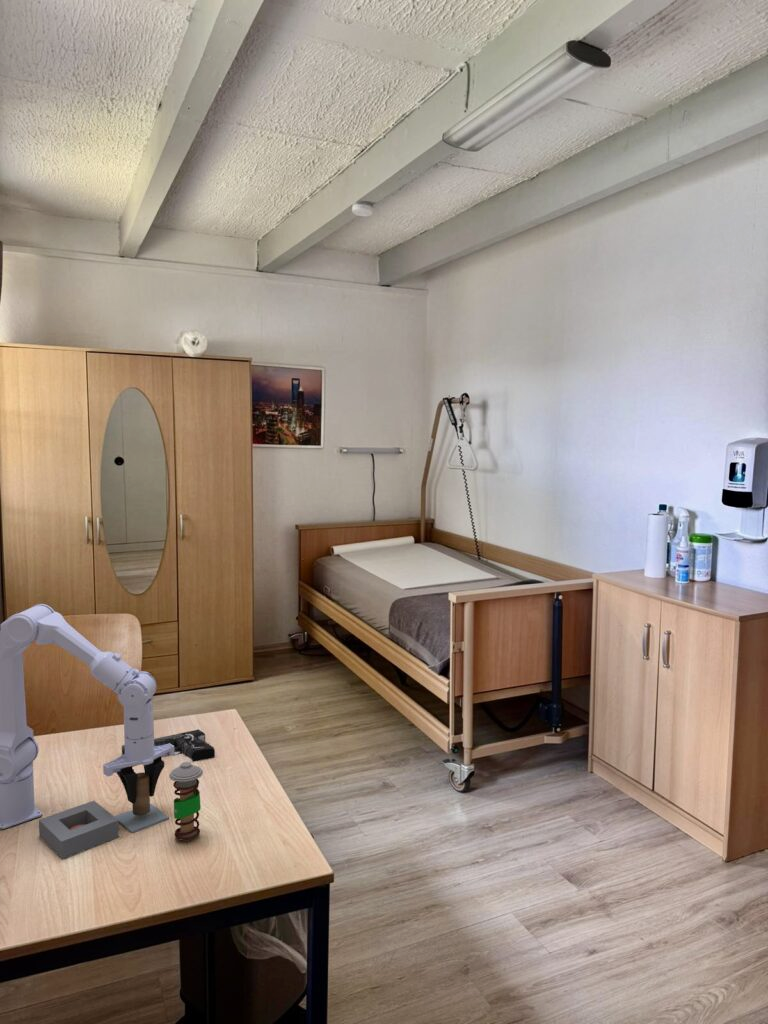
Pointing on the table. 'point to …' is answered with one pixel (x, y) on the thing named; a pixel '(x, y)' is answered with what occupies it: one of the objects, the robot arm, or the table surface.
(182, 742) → the handgun
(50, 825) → the frame
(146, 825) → the mat
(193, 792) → the shock absorber
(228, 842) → the table surface
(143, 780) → the dowel
